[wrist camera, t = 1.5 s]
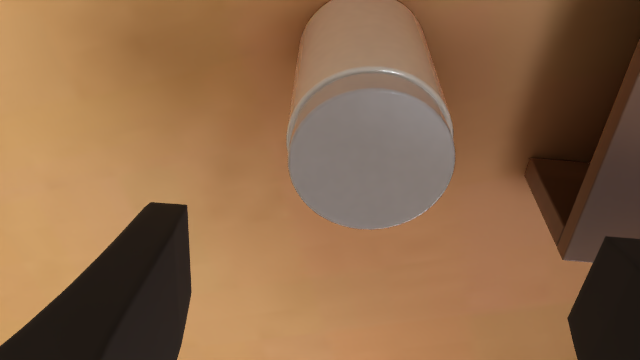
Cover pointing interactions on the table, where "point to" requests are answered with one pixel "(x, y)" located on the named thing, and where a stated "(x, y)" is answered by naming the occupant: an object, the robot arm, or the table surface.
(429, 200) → the salt shaker
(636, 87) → the shelf
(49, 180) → the table surface
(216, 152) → the table surface
